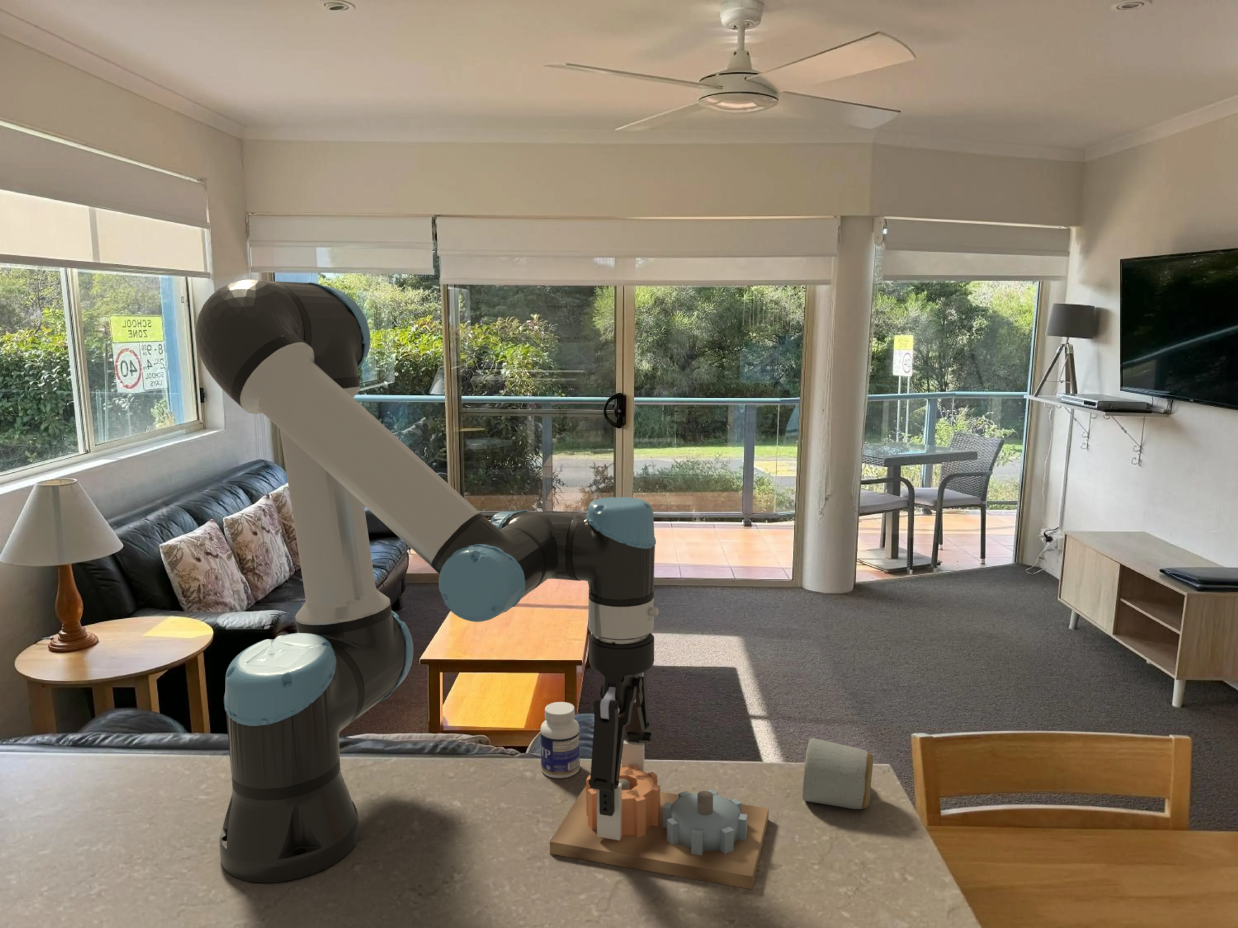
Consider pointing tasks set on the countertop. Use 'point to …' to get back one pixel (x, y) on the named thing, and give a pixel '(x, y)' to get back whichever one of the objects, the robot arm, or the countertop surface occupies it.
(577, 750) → the pill bottle
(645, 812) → the terracotta gear
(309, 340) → the robot arm
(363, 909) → the countertop surface
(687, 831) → the slate gear
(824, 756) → the ceramic mug
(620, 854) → the walnut board
